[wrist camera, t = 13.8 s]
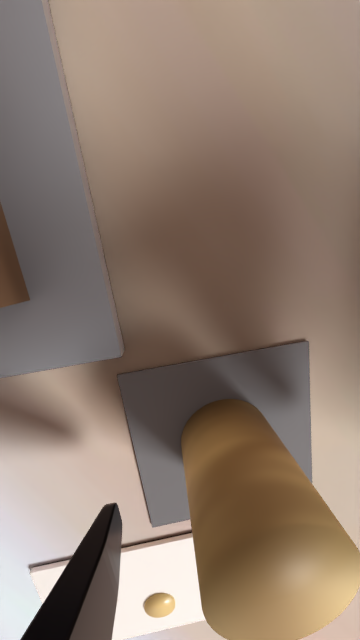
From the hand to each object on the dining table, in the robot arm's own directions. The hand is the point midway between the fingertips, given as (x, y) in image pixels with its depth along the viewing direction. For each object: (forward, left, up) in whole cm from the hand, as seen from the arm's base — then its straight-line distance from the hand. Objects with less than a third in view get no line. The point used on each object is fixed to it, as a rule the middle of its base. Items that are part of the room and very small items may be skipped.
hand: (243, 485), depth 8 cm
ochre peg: (0, 0, -2) cm, 2 cm away
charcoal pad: (0, 0, -2) cm, 2 cm away
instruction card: (+6, +8, -2) cm, 10 cm away
